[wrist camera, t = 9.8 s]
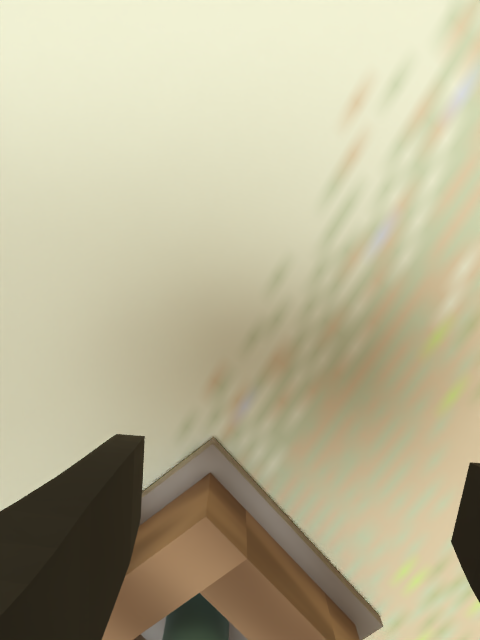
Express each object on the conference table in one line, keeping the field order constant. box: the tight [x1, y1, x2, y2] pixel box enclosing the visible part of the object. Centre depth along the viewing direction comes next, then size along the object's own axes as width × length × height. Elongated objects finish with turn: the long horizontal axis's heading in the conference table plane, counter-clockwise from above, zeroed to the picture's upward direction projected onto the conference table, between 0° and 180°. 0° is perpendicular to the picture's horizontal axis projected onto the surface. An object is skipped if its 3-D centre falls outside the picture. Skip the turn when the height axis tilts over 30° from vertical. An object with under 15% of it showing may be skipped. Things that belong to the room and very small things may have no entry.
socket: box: [102, 437, 383, 640], centre depth 21 cm, size 13×13×4 cm
